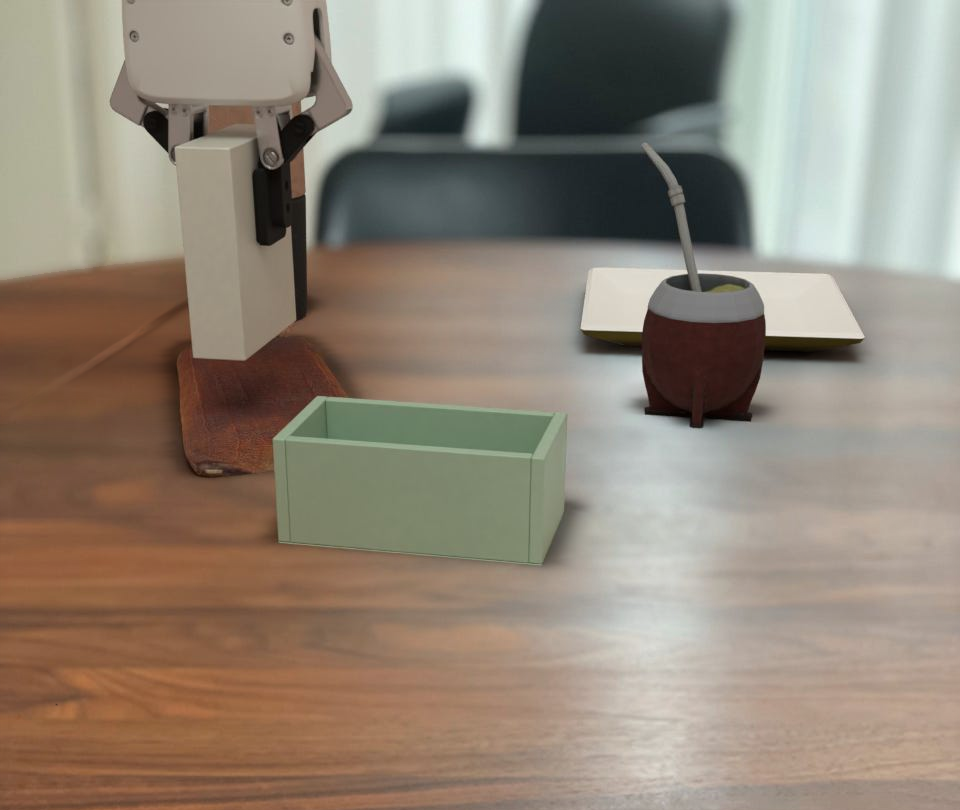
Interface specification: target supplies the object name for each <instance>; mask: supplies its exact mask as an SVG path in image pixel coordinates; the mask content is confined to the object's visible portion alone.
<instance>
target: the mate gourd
mask: <svg viewBox="0 0 960 810" xmlns="http://www.w3.org/2000/svg"><path fill="white" fill-rule="evenodd" d="M641 148H642V150H643V151H644V152H645V153H646V155H647V156H648V158H649V159H650V160H651V161H652V163H653V164H654V165H655V167H656V168H657V170H658V171H659V172H660V174H661V175H662V177H663V179H664V181H665V182H666V184H667V187H668V190H667V194H668V197H669V200H670V204H671V207H673V209H674V213H675V219H676V223H677V228H678V234H679V238H680V243H681V248H682V254H683V258H684V263H685V264H684V265H685V268H686V270H687V273H688V274H682V275H676V276H671V277H669V278H666V279H664V280H663V281H662V282H661V283H660V284H659V286H658V287H657V288H656V290H655V291H654V293H653V294H652V296H651V298H650V300H649V303H648V310H647V313H646V316H645V319H644V324H643V331H642V347H641V367H642V368H641V371H642V377H643V381H644V386H645V390H646V395H647V399H648V406H645V407H644V408H643V411H644V412H643V413H644V415H645V416H658V417H659V416H661V417H672V418H673V417H674V418H687V419H689V428H691V429H703V428H704V423H705V420H718V421H731V422H733V421H734V422H748V423H751V422H752V418H753V414H754V413H752V412H749V409H750V406H751V403H752V401H753V398H754V396H755V393H756V390H757V388H758V386H759V383H760V379H761V375H762V369H763V364H764V355H765V350H764V349H765V343H766V321H765V315H764V304H763V301H762V299H761V297H760V294H759V293H758V291H757V289H756V288H755V286H754V285H753V284H752V283H751V282H749V281H747V280H746V279H742V278H738V277H735V276H728V275H721V274H704V273H697V270H698V269H697V265H696V260H695V255H694V250H693V245H692V239H691V234H690V229H689V225H688V219H687V214H686V213H687V212H686V208H685V204H684V203H686V199H685V194H684V190H683V187H682V185H679V183H678V180H677V178H676V176H675V175H674V173H673V172H672V170H671V168H670V167H669V165H668V164H667V163H666V162H665V161H664V160H663V158H661V156H660V155H659V154H658V153H657V152H656V151H655V150H654V149H653V147H652V146H651V145H650V144H649V143H648V142H645V141H644V142H643V143H641Z"/></svg>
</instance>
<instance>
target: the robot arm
mask: <svg viewBox="0 0 960 810" xmlns="http://www.w3.org/2000/svg"><path fill="white" fill-rule="evenodd" d="M121 20H122V21H121V22H122V39H123V52H124V53H123V54H124V60H123V63H122V66H121V69H120V71H119V74H118V77H117V79H116V82H115V85H114V86H113V89H112V92H111V95H110V98H109V106H110V108H111V109H112V110H113V112H115V113H117V114H118V115H119V116H121V117H123V118H125V119H127V120H128V121H130V122H132V123H133V124H135V125H137V126H139V127H142V128H143V129H145V131H146V132H147V133H148V134H149V135H150V136H151V137H152V138H153V139H154V140H155V141H156V143H157V144H158V145H159V146H160V147H161V148H162V149H163V150H164V151H165V152H166V153H167V155H168V158H169V161H170V162H171V164H172V165H174V166H175V167H176V159H175V147H176V146H179V145H181V144H184V143H187V142H189V141H192V140H195V139H197V138H200V137H203V136H205V135H208V118H209V105H218V106H252V109H253V115H254V122H255V128H256V134H257V141H258V147H259V153H260V156H259V157H258V159H259V168H257V169H255V170H254V171H253V174H252V181H253V196H254V211H255V226H256V240H257V243H259V244H260V245H261V246H271V245H273V244H274V243H276V242H277V241H279V240H281V239H282V238H284V237H285V235H286V228H288V227H290V226H291V224H292V220H293V207H292V189H291V171H290V162H291V161H293V160H294V159H295V158H296V157H297V154H298V153H299V152H300V151H301V150H302V149H303V150H304V148H305V146H307V145H308V143H309V142H310V141H311V140H312V139H313V137H314V136H316V135H317V133H318V132H321V131H322V130H324V129H326V128H328V127H330V126H331V125H333V124H334V123H337V122H338V121H340V120H341V119H343V118H345V117H347V116H349V115H350V113H352V111H353V107H354V106H353V101H352V99H351V97H350V96H349V94H348V91H347V90H346V87H345V86H344V84H343V82H342V80H341V78H340V76H339V74H338V72H337V71H336V69H335V67H334V65H333V61H332V44H331V33H330V23H329V15H328V5H327V0H121ZM313 97H315V101H314V103H313V105H311V106H310V107H309V108H307V109H305V110H304V111H301V113H300V114H298V115H297V116H294V117H293V114H292V107H291V104H294V103H297V102H299V101H301V102H302V101H303V100H304V99H308V98H313ZM159 104H163V105H164V104H165V105H168V106H167V107H168V108H167V107H162V106H160V105H159Z"/></svg>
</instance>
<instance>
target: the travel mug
mask: <svg viewBox="0 0 960 810" xmlns="http://www.w3.org/2000/svg"><path fill="white" fill-rule="evenodd" d="M291 107H292V114H293V117H294V116H297V115H298V114H300V113H302V100H301V101H299V102H297V103H294V104H291ZM234 124H252V125H255V122H254V115H253V109H252V106H218V105H209V118H208V134H211V133H213V132H216V131H218V130H221V129H224V128H226V127H229V126H232V125H234ZM290 171H291V189H292V207H293V220H292V224H291V236H292V254H293V272H294V289H295V307H296V321H298V320H301V319H302V318H304V317H306V315H307V312H308V258H307V257H308V256H307V255H308V254H307V250H308V249H307V248H308V247H307V196H306V192H307V190H306V189H307V187H306V172H305V153H304V148H303V149H302V150H301V151H300V152H299V153H298V154H297V157H296V158H295V159H294V160H293V161H291V162H290Z"/></svg>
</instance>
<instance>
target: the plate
mask: <svg viewBox="0 0 960 810" xmlns="http://www.w3.org/2000/svg"><path fill="white" fill-rule="evenodd" d="M697 273H704V274H721V275H728V276H735V277H738V278H742V279H746V280H747V281H749V282H751V283H752V284H753V285H754V286H755V288H756V289H757V291H758V293H759V294H760V297H761V299H762V301H763V304H764V315H765V321H766V343H765V349H764V351H771V352H803V353H804V352H805V353H812V352H818V351H824V350H830V349H835V348H841V347H847V346H852V345H857V344H861V343H862V342H863V340H865V338H866V336H865V335H864V332H863V331H862V328H861V327H860V325H859V323H858V321H857V320H856V318H855V315H854V313H853V312H852V310H851V308H850V306H849V305H848V302H847V301H846V299H845V296H844V295H843V294H842V292H841V290H840V287H839V286H838V284H837V282H836V280H835V278H834V276H832V275H831V274H829V273H828V274H827V273H813V272H809V273H808V272H807V273H806V272H778V271H777V272H775V271H766V272H765V271H739V270H737V271H736V270H734V271H733V270H732V271H731V270H705V269H703V270H701V269H700V270H699V269H697ZM682 274H688V273H687V269H667V268H666V269H663V268H632V267H631V268H630V267H629V268H627V267H592V268H590V269H589V270H588V273H587V280H586V287H585V292H584V294H585V295H584V301H583V308H582V315H581V323H580V331H581V332H582V335H585V336H588V337H592V338H595V339H599V340H603V341H607V342H610V343H613V344H617V345H620V346H624V347H640V348H642V331H643V324H644V319H645V316H646V313H647V310H648V303H649V300H650V298H651V296H652V294H653V293H654V291H655V290H656V288H657V287H658V286H659V284H660V283H661V282H662V281H663V280H664V279H666V278H669V277H671V276H676V275H682Z"/></svg>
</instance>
